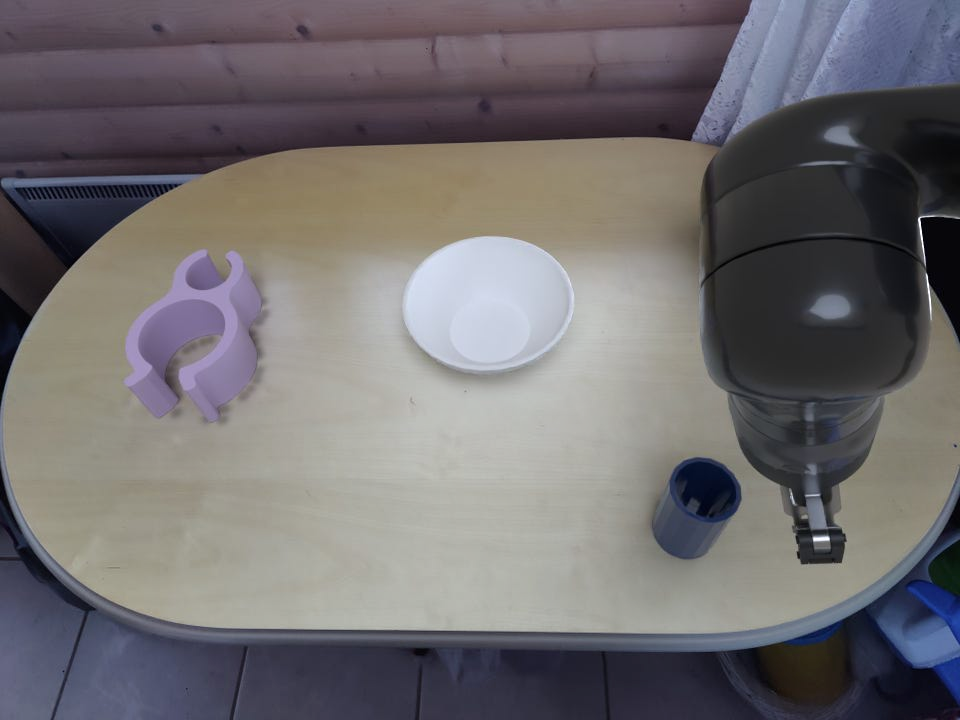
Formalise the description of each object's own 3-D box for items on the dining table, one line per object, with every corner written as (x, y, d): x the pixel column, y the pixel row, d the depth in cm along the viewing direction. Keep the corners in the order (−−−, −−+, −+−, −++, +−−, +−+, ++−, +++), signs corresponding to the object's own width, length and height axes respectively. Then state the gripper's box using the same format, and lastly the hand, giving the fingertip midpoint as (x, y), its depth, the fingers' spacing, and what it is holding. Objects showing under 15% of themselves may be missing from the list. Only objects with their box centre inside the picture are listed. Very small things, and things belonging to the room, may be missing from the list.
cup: (723, 517, 68) (750, 476, 60) (702, 571, 65) (728, 534, 57) (665, 490, 70) (684, 446, 62) (642, 540, 67) (659, 501, 59)
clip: (192, 284, 90) (170, 247, 84) (283, 289, 88) (267, 252, 83) (132, 416, 79) (102, 384, 73) (235, 424, 77) (213, 392, 72)
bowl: (529, 428, 75) (529, 396, 69) (379, 365, 81) (369, 331, 75) (595, 303, 84) (600, 265, 79) (457, 255, 90) (453, 217, 85)
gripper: (911, 533, 33) (878, 570, 47) (851, 281, 39) (838, 379, 53) (749, 541, 36) (762, 574, 50) (715, 304, 42) (736, 392, 56)
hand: (801, 474), depth 51 cm, fingers open, 8 cm apart
